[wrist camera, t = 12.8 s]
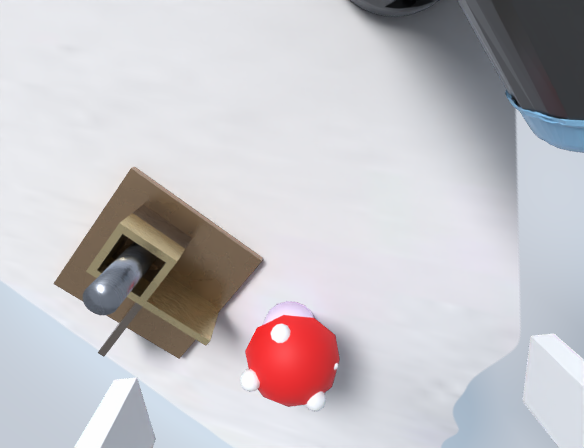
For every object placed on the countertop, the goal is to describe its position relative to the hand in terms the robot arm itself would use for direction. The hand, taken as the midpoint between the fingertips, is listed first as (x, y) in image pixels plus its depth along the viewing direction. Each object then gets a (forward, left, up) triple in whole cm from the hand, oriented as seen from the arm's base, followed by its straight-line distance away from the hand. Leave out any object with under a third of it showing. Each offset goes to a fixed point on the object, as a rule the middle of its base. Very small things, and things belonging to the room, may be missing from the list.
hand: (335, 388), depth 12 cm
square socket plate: (+19, -7, -32) cm, 38 cm away
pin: (+16, -9, -31) cm, 36 cm away
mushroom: (+15, +11, -32) cm, 37 cm away
